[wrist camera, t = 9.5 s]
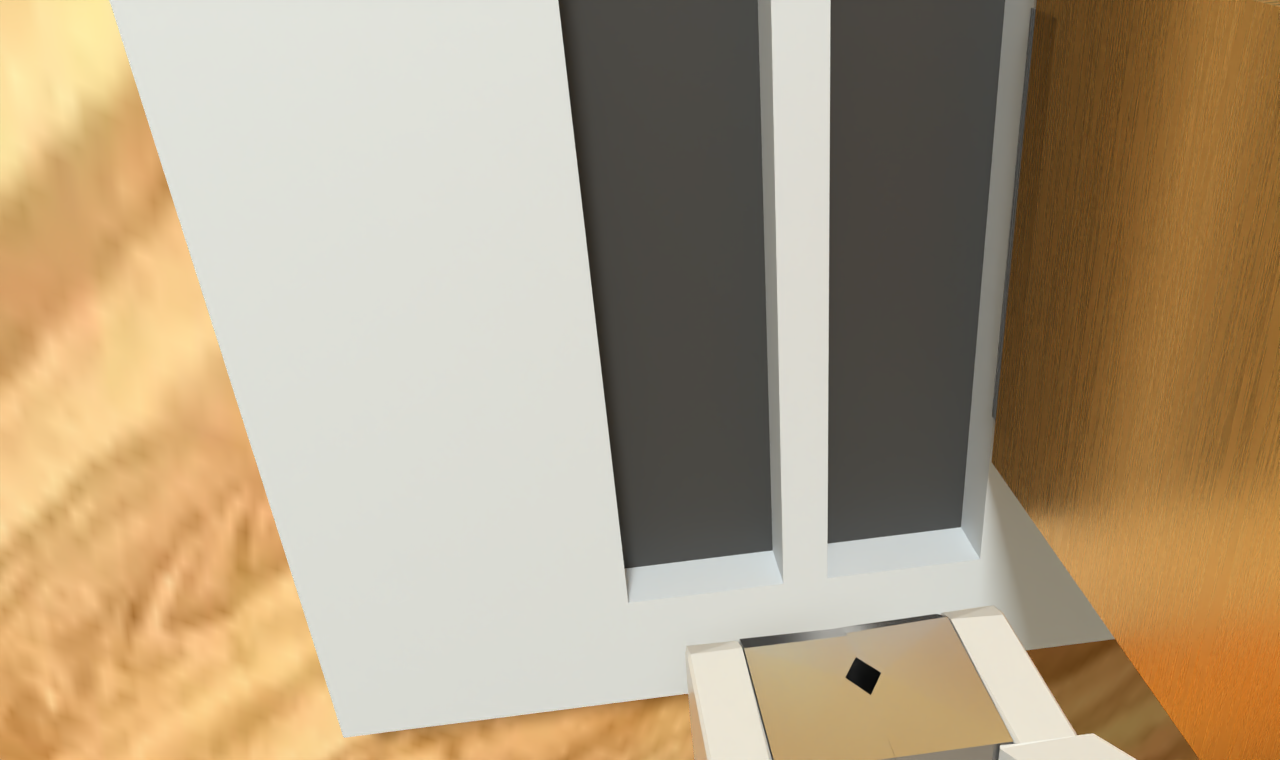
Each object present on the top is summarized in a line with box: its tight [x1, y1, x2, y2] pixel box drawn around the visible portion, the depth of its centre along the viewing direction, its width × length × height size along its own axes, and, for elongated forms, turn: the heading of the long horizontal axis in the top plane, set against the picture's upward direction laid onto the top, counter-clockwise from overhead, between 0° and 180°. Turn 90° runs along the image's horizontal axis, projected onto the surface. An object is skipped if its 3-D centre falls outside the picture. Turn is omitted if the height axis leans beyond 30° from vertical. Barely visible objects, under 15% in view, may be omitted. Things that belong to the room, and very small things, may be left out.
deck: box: [110, 0, 1115, 738], centre depth 20 cm, size 38×22×2 cm, turn 95°
